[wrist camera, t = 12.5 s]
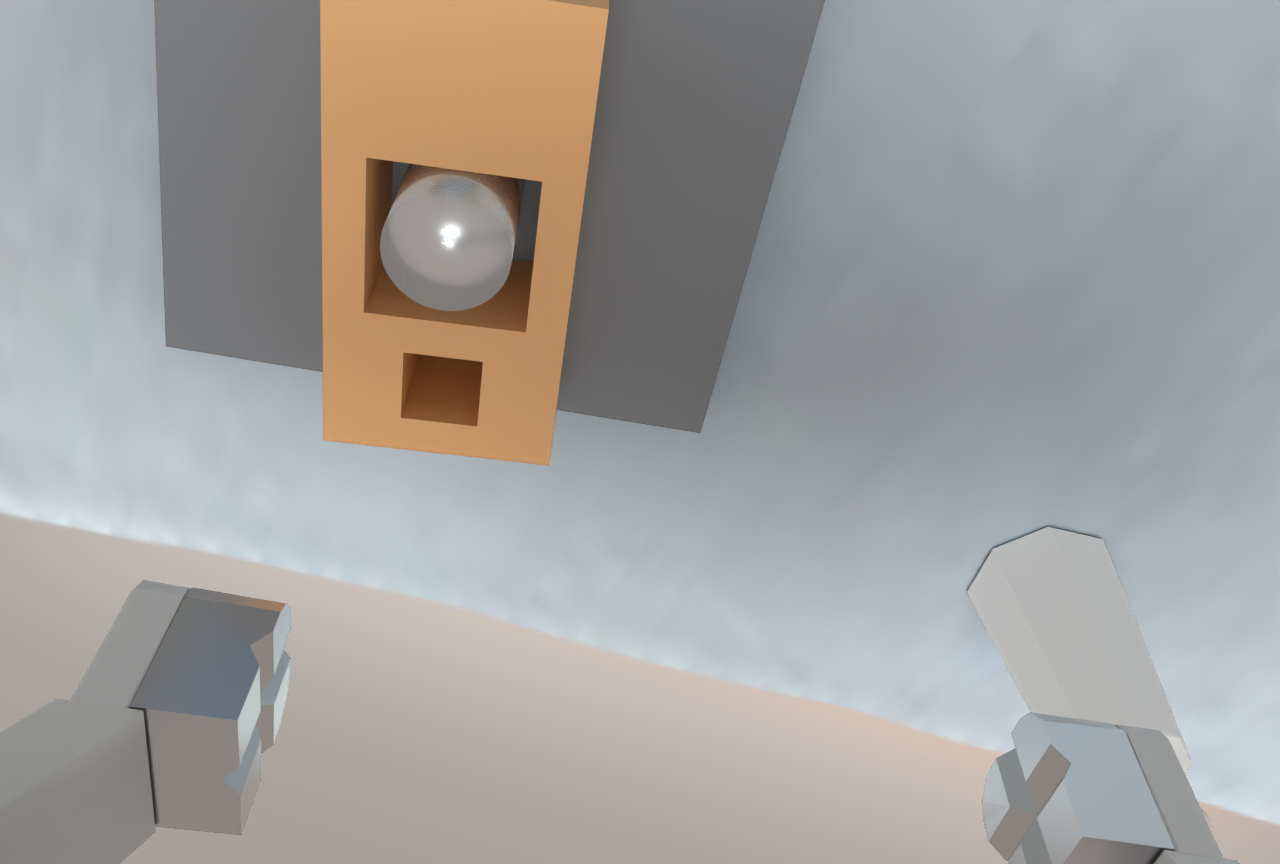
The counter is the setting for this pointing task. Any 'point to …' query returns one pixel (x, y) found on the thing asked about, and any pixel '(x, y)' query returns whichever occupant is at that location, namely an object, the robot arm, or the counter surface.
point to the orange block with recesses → (460, 140)
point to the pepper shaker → (1071, 633)
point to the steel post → (451, 236)
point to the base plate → (612, 209)
